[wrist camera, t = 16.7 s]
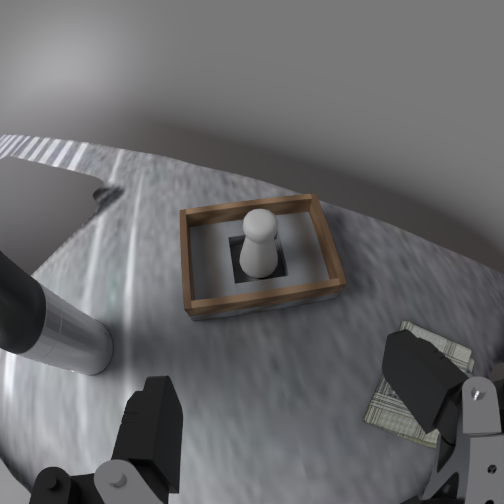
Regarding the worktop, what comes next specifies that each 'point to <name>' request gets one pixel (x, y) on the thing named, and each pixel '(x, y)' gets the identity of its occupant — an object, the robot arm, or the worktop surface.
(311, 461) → the worktop surface
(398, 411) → the dish towel
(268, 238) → the salt shaker
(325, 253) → the bore box
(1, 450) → the worktop surface
